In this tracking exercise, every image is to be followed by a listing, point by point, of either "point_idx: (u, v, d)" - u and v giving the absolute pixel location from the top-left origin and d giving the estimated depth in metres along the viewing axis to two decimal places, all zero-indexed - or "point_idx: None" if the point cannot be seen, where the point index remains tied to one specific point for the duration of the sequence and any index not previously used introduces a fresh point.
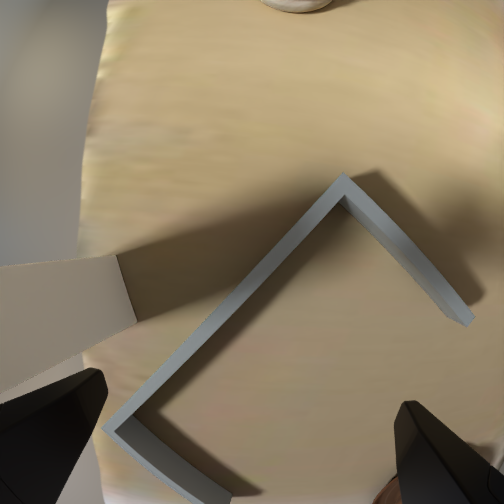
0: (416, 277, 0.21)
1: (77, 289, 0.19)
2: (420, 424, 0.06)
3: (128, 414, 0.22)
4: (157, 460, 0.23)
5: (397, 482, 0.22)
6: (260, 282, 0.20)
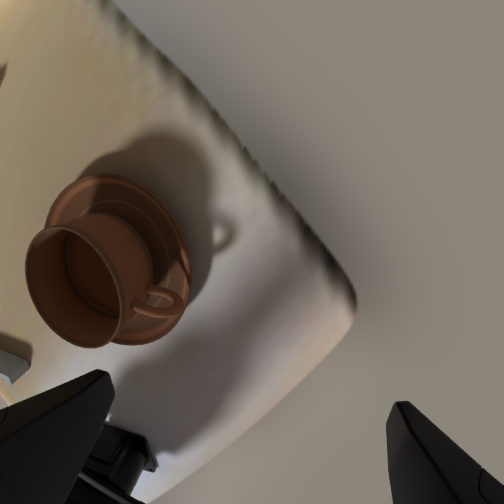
0: None
1: None
2: (411, 425, 0.06)
3: None
4: None
5: None
6: None
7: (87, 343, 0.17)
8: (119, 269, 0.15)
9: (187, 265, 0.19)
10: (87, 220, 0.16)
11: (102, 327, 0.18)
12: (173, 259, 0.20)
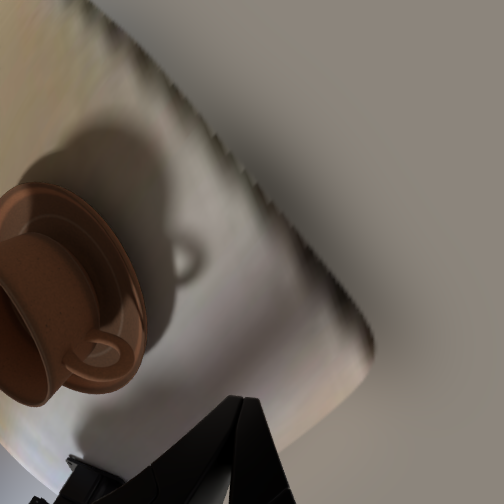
0: None
1: None
2: (239, 422, 0.07)
3: None
4: None
5: None
6: None
7: (25, 397, 0.11)
8: (39, 318, 0.09)
9: (139, 305, 0.13)
10: (7, 246, 0.10)
11: (46, 376, 0.13)
12: (125, 294, 0.14)
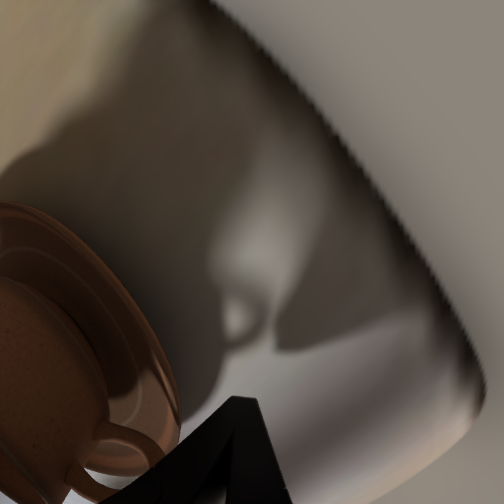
0: None
1: None
2: (237, 422, 0.07)
3: None
4: None
5: None
6: None
7: (19, 494, 0.06)
8: (21, 437, 0.05)
9: (171, 394, 0.08)
10: None
11: None
12: (144, 369, 0.09)
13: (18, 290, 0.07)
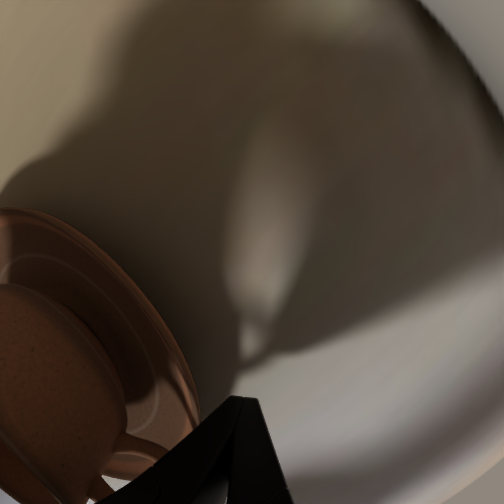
0: None
1: None
2: (238, 422, 0.07)
3: None
4: None
5: None
6: None
7: (29, 499, 0.06)
8: (50, 458, 0.05)
9: (193, 411, 0.08)
10: None
11: None
12: (164, 383, 0.09)
13: (40, 303, 0.07)
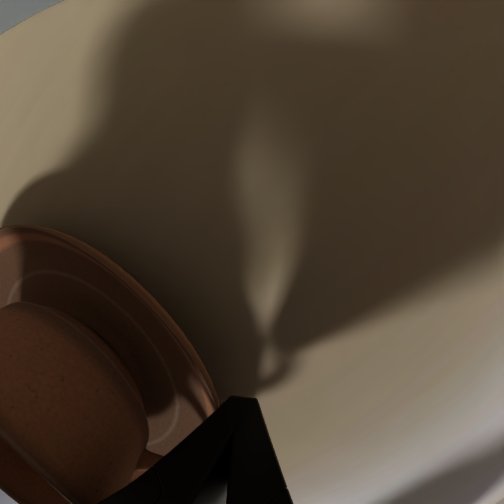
0: None
1: None
2: (237, 422, 0.07)
3: None
4: None
5: None
6: None
7: None
8: (86, 486, 0.05)
9: None
10: (6, 351, 0.06)
11: None
12: (186, 403, 0.10)
13: (65, 327, 0.08)
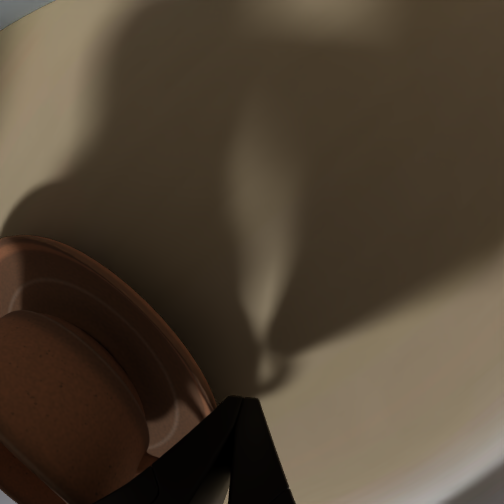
0: None
1: None
2: (239, 422, 0.07)
3: None
4: None
5: None
6: None
7: None
8: (86, 489, 0.05)
9: None
10: (6, 359, 0.06)
11: None
12: (185, 406, 0.10)
13: (63, 334, 0.08)
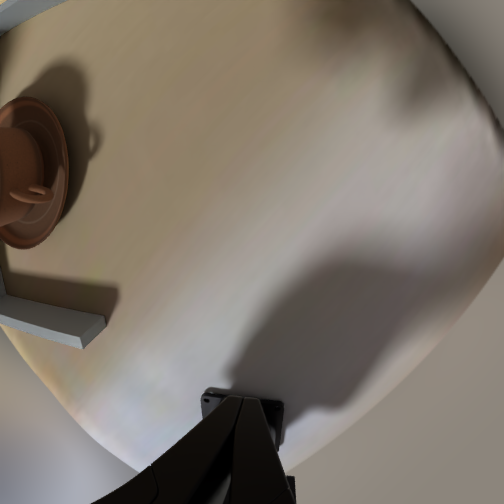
0: (48, 1, 0.15)
1: None
2: (239, 422, 0.07)
3: None
4: (16, 312, 0.21)
5: None
6: None
7: None
8: (4, 159, 0.14)
9: (64, 167, 0.18)
10: None
11: None
12: (61, 167, 0.19)
13: (21, 129, 0.17)
